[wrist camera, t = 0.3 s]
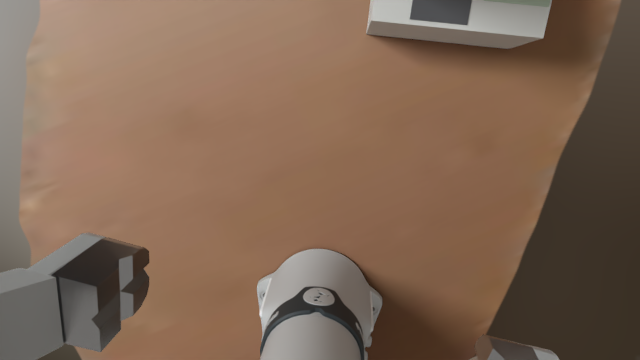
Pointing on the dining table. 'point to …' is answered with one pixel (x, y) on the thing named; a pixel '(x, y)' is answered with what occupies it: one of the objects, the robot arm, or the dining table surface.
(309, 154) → the dining table surface
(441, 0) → the box
